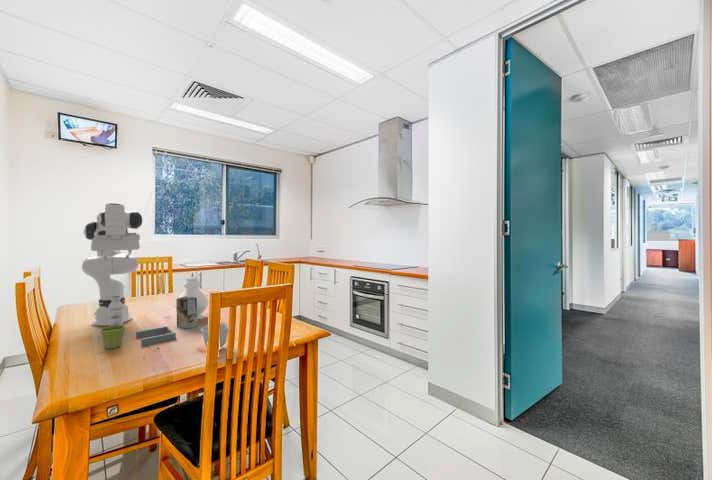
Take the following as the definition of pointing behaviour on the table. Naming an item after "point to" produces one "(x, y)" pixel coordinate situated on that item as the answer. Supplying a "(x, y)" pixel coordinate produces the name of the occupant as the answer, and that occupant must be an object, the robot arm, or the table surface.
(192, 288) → the decorative vase
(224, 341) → the teacup
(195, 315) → the coffee box
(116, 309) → the plastic bottle
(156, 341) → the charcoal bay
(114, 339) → the plant pot
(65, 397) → the table surface
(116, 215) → the robot arm
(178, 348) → the table surface
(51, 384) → the table surface
